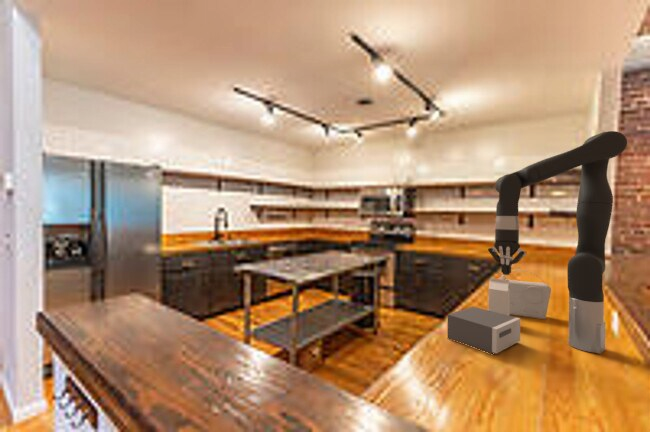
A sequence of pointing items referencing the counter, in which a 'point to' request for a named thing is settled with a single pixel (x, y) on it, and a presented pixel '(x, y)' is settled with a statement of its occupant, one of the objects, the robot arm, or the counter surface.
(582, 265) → the robot arm
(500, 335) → the drawer
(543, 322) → the counter surface
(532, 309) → the radio
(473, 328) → the cabinet
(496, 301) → the milk carton
